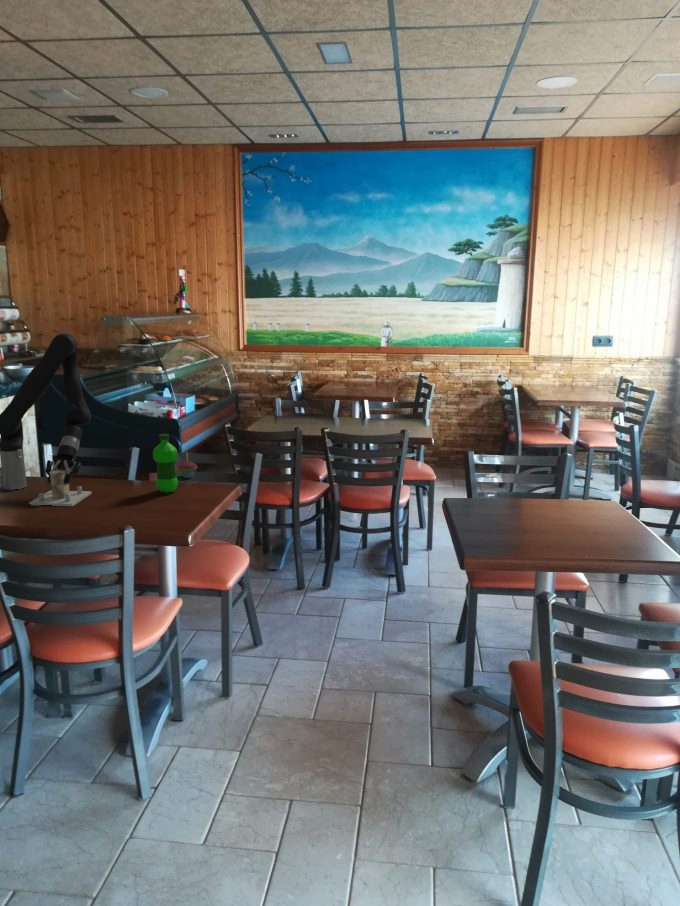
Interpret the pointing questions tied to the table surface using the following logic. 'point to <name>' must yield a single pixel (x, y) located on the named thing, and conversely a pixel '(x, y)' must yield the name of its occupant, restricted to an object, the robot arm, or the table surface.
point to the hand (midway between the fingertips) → (57, 483)
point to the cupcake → (187, 468)
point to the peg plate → (68, 501)
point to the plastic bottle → (165, 465)
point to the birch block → (59, 484)
